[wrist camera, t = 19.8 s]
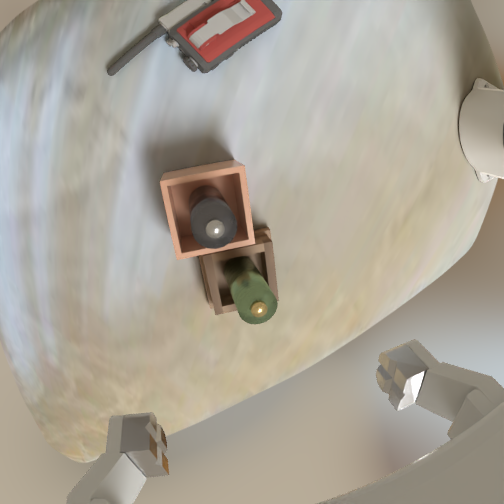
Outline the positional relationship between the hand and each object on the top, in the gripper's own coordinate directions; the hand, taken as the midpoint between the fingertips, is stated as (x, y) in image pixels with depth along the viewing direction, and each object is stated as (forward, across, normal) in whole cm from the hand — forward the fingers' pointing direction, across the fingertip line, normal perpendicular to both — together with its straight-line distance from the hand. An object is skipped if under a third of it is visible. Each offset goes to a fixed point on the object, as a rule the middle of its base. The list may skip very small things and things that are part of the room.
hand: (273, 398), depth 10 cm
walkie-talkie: (+30, -2, -19) cm, 35 cm away
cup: (+29, 0, 0) cm, 29 cm away
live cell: (+28, -3, +9) cm, 30 cm away
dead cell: (+28, 0, 0) cm, 28 cm away
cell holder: (+29, -2, +9) cm, 31 cm away
